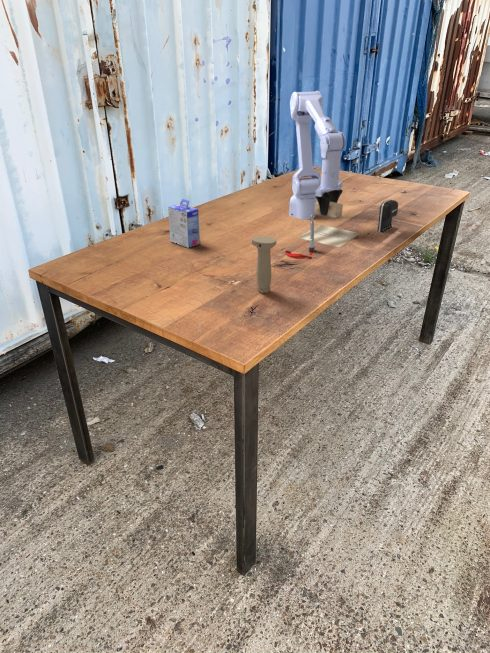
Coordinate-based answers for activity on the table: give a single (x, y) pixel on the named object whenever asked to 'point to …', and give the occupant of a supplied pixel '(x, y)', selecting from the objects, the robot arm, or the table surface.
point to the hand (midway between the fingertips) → (327, 212)
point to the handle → (264, 261)
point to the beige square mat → (330, 235)
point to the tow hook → (312, 243)
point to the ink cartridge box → (184, 224)
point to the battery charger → (387, 215)
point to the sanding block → (330, 210)
